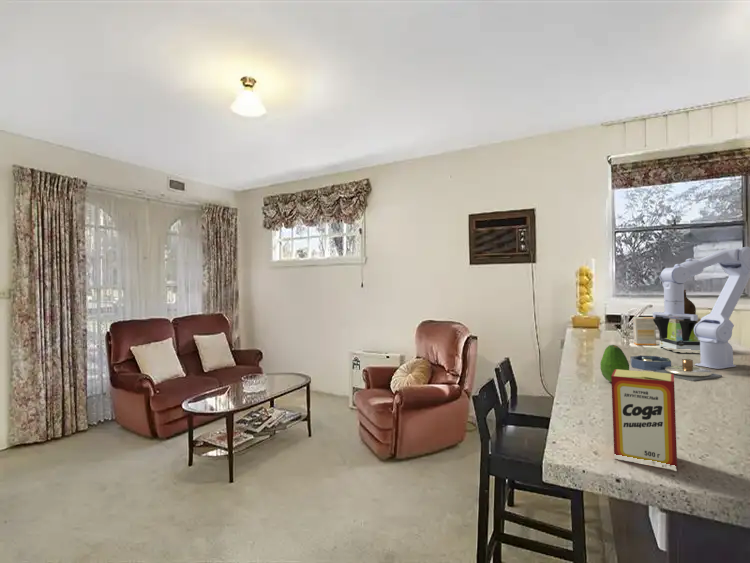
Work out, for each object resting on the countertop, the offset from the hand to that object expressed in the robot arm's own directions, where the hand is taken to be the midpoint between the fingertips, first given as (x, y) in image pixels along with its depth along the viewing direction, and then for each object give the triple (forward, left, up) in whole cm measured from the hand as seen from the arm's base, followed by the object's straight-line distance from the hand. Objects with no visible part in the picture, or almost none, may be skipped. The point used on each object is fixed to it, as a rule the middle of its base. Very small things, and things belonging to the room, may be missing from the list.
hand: (674, 339), depth 145 cm
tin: (+5, -6, -10) cm, 13 cm away
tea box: (-34, -23, -11) cm, 43 cm away
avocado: (+34, +5, -11) cm, 36 cm away
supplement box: (-36, -41, -11) cm, 56 cm away
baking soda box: (+75, +48, -11) cm, 89 cm away
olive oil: (-66, -44, -11) cm, 80 cm away
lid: (+6, +8, -9) cm, 14 cm away
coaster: (+6, +8, -10) cm, 14 cm away
